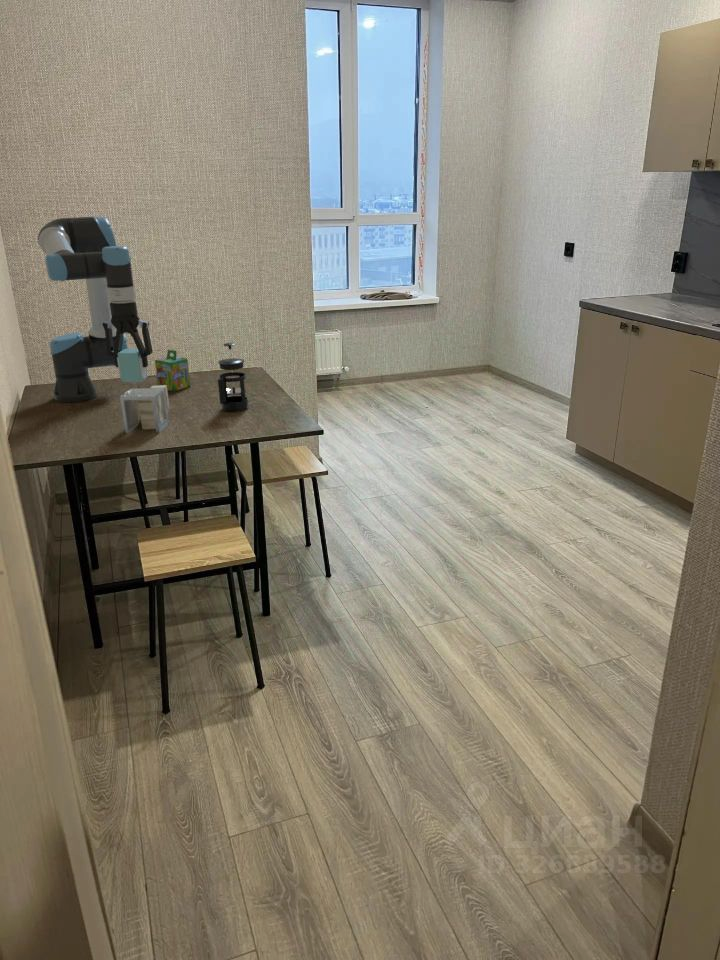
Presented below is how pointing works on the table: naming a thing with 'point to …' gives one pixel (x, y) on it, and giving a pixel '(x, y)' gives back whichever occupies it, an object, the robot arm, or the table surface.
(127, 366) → the block
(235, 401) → the french press
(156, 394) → the grey open box
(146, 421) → the bar
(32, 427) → the table surface
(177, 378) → the chalk box
